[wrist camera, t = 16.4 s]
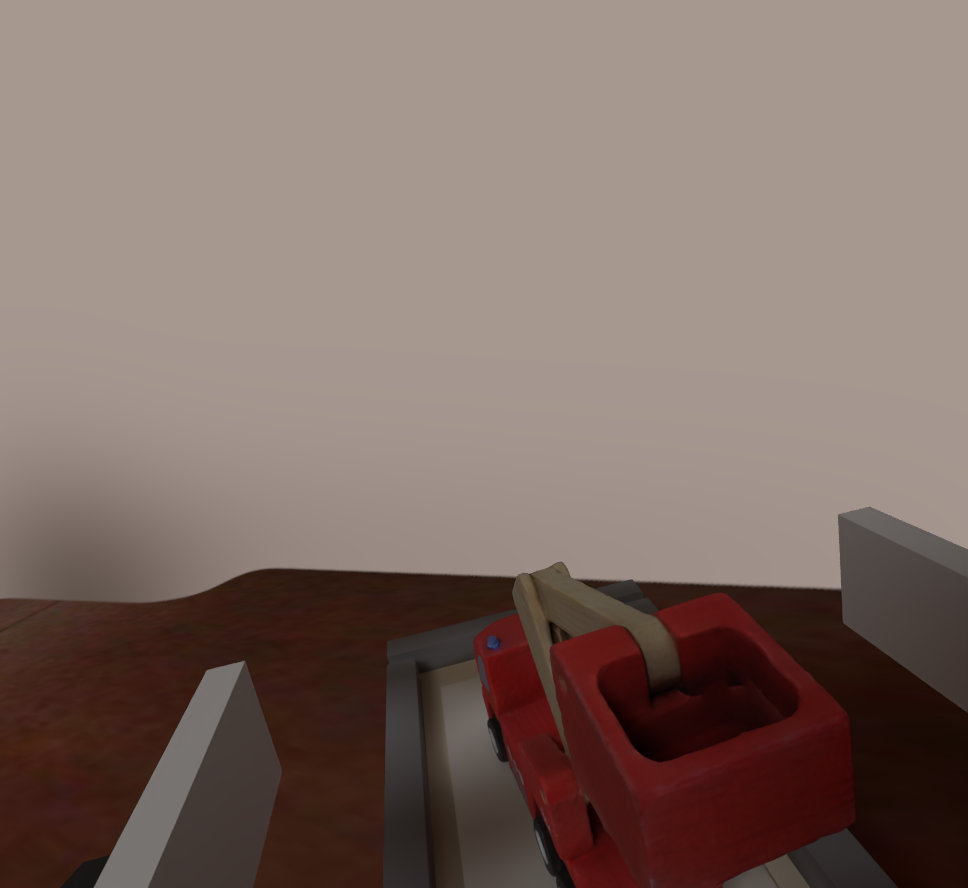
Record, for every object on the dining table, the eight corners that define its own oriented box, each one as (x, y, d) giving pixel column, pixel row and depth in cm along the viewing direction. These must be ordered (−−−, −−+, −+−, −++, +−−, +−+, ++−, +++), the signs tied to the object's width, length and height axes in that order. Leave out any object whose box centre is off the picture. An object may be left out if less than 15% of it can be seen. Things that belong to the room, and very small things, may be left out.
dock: (1125, 1320, 10) (1147, 1158, 9) (426, 1606, 9) (358, 1459, 8) (645, 653, 29) (634, 576, 28) (403, 717, 28) (383, 640, 27)
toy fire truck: (563, 691, 23) (519, 453, 21) (880, 1164, 10) (862, 679, 8) (481, 721, 22) (425, 478, 20) (709, 1273, 9) (631, 773, 7)
